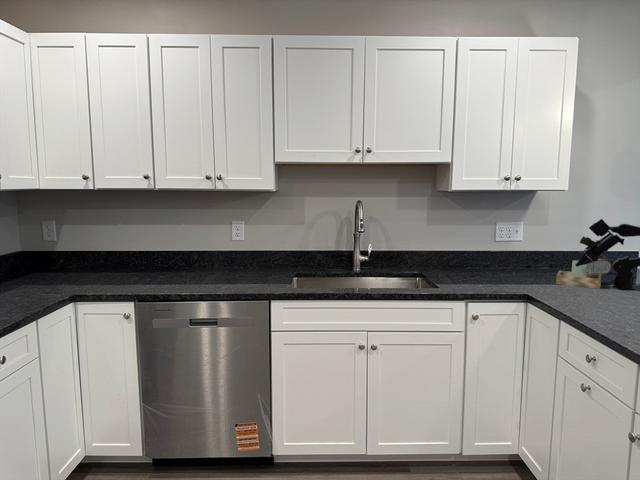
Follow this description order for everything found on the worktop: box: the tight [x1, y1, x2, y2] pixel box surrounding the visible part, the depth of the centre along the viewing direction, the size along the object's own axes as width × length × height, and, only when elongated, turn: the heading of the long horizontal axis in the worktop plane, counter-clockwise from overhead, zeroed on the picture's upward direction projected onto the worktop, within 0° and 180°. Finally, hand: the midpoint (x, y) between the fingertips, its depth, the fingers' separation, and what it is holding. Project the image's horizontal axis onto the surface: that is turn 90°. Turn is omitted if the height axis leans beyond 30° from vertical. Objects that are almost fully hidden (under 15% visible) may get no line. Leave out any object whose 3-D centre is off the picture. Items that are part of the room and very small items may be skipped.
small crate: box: [571, 260, 587, 278], centre depth 203 cm, size 6×6×10 cm
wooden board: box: [555, 270, 602, 290], centre depth 203 cm, size 18×14×4 cm
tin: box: [587, 258, 613, 275], centre depth 228 cm, size 15×3×8 cm, turn 84°
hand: (576, 264), depth 203 cm, fingers open, 9 cm apart
